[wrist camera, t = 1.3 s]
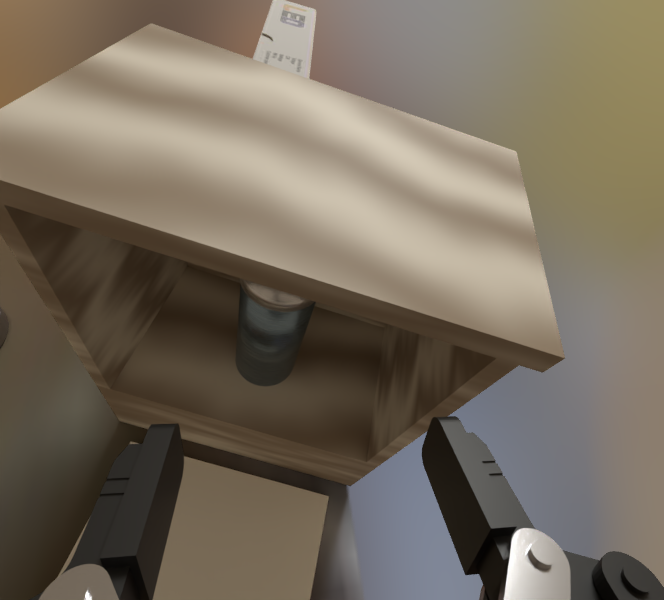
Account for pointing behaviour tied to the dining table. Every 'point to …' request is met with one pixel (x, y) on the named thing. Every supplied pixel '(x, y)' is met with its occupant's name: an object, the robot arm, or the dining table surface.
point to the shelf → (270, 250)
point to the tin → (269, 332)
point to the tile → (238, 538)
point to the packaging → (287, 38)
